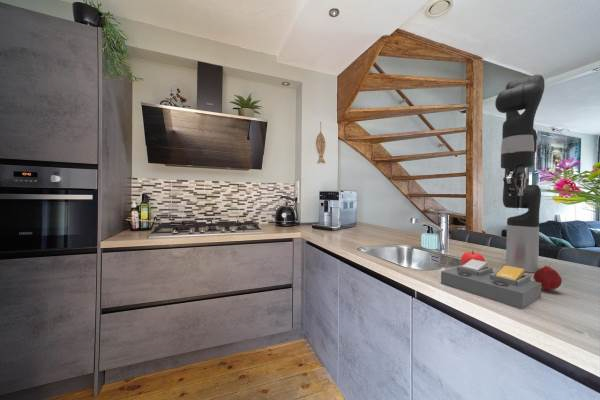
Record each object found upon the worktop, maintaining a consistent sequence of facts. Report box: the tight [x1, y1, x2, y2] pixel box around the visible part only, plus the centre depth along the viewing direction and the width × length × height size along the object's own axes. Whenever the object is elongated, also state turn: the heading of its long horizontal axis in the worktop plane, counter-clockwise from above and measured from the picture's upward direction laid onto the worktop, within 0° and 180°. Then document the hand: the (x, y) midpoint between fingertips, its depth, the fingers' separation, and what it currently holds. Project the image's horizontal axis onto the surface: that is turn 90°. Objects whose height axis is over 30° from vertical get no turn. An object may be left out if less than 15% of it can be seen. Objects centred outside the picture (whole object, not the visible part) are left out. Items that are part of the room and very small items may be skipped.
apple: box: [460, 250, 486, 266], centre depth 89 cm, size 8×8×8 cm
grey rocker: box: [462, 259, 489, 271], centre depth 76 cm, size 7×4×1 cm, turn 121°
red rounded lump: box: [533, 263, 563, 292], centre depth 71 cm, size 6×6×8 cm
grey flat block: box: [440, 265, 542, 310], centre depth 71 cm, size 14×20×5 cm
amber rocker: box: [496, 264, 525, 281], centre depth 68 cm, size 7×4×1 cm, turn 121°
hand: (515, 208), depth 72 cm, fingers closed
